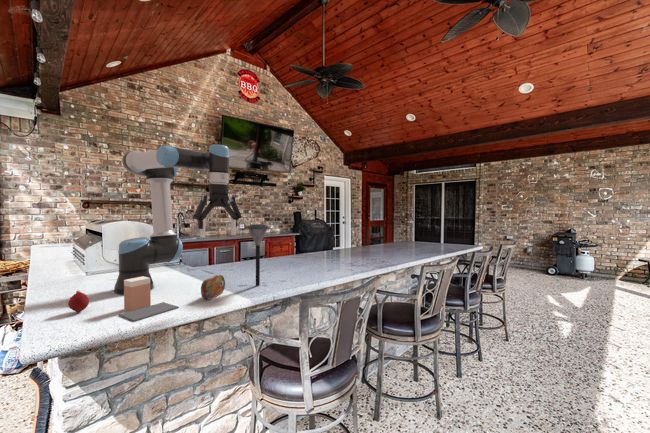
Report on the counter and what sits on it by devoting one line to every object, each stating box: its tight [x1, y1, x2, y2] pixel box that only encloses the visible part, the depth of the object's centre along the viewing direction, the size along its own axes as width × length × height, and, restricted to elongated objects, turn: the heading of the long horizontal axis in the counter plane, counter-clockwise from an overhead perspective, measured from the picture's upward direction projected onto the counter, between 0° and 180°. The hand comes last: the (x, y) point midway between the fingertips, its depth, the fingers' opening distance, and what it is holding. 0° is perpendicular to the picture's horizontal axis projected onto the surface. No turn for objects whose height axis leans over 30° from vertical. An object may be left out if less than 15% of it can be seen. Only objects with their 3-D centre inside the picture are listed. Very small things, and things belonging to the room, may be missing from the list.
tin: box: [200, 274, 226, 300], centre depth 129 cm, size 15×3×8 cm, turn 168°
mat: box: [118, 301, 180, 322], centre depth 110 cm, size 10×16×1 cm, turn 149°
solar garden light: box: [244, 223, 271, 287], centre depth 147 cm, size 12×12×30 cm
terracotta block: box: [123, 276, 152, 312], centre depth 114 cm, size 5×7×11 cm
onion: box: [68, 290, 90, 314], centre depth 108 cm, size 6×6×8 cm
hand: (218, 236), depth 123 cm, fingers open, 13 cm apart
